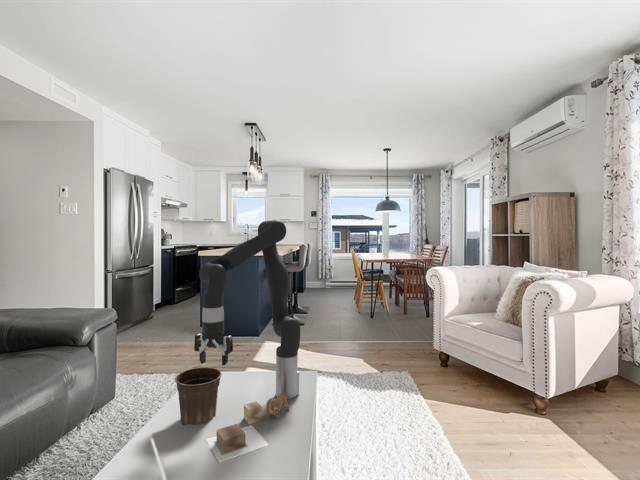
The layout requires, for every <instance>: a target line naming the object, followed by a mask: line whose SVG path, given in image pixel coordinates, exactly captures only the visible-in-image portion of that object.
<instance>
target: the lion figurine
mask: <svg viewBox="0 0 640 480" xmlns="http://www.w3.org/2000/svg"><path fill="white" fill-rule="evenodd" d="M282 405H283V406H284V407H285V408H286V410H285V411H286V412H290V406H289V404H288V399H287V398H286V396H285V395H281V396H279V397H277V398H276V399H275V398H272V397H271V398H269V399H268V400H267V401H266V404H265V409H266V412H267V415H268V417H269V418H272V415H274V419H278V415H279V413H280V411H281V409H282Z"/></svg>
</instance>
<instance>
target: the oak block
mask: <svg viewBox="0 0 640 480" xmlns="http://www.w3.org/2000/svg"><path fill="white" fill-rule="evenodd" d="M243 419H244V420H245V422H246V423H247V424H248V425H252V424H255V423H258V422H261V421H262V420H263V406H262V405H261V404H260V403H259V402H258V401H252V402H248V403H246V404H243Z"/></svg>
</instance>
